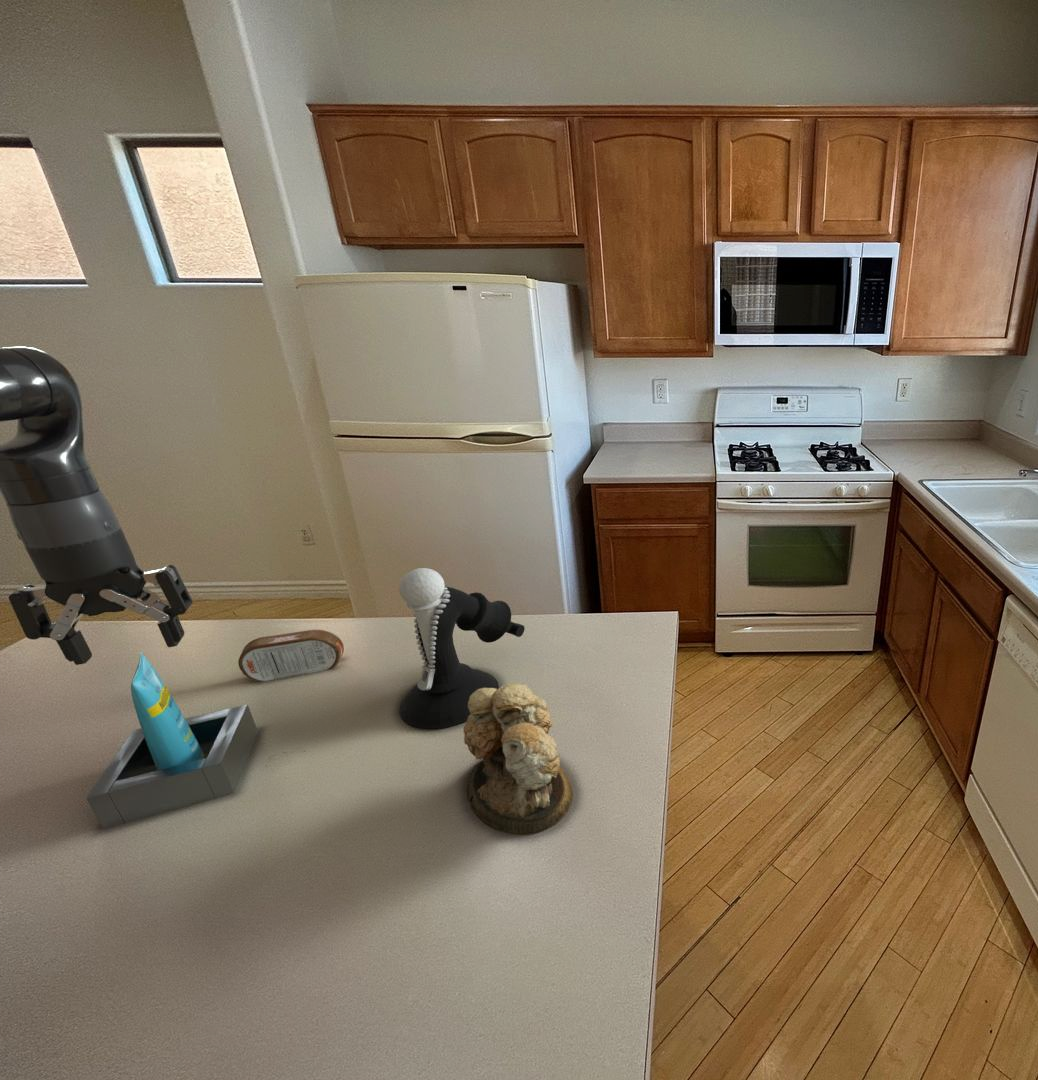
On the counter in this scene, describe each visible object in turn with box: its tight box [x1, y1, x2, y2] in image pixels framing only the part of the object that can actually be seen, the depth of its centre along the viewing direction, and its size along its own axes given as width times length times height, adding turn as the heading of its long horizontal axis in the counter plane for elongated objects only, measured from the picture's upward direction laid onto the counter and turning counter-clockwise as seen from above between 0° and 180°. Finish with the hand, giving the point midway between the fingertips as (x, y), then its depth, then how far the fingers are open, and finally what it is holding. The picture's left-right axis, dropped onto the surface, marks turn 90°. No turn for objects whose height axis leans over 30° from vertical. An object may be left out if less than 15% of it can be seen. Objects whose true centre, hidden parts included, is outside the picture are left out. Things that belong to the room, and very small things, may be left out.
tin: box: [237, 629, 345, 683], centre depth 97 cm, size 15×3×8 cm, turn 111°
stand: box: [85, 704, 259, 830], centre depth 76 cm, size 13×13×6 cm
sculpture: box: [398, 567, 526, 731], centre depth 92 cm, size 15×24×25 cm, turn 151°
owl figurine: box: [463, 683, 574, 835], centre depth 73 cm, size 18×12×17 cm, turn 55°
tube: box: [130, 651, 207, 771], centre depth 73 cm, size 7×5×19 cm, turn 43°
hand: (130, 652), depth 69 cm, fingers open, 8 cm apart
